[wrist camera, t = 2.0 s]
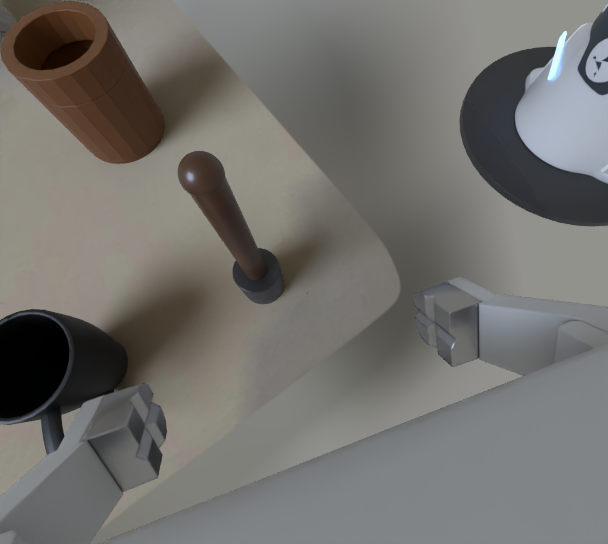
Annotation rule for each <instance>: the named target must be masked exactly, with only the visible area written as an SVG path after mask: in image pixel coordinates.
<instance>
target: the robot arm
mask: <svg viewBox="0 0 608 544" xmlns="http://www.w3.org/2000/svg"><path fill="white" fill-rule="evenodd" d="M566 34H567V32H564V33H563V34H562V35H561V37H560V38H559V42H558V45H557V49H556V52H555V55H554V57H553V58H552V59H551V60H550V61H549V62H548V64H547V65H546V66H545V67H543V68H537V69H534V70H533V71H532V72H531V73H530V74H529V75H528V76H527V78H526V83H525V93H524V95H523V97H522V98H521V100H520V101H519V103H518V105H517V108H516V112H515V124H516V128H517V131H518V133H519V135H520V137H521V139H522V141H523V142H524V144H525V145H526V146H527V147H528V148H529V149H530V150H531V151H532V152H533V153H534V154H535V155H536V156H537V157H539V158H540V159H542V160H543V161H545V162H546V163H548V164H550V165H552V166H554V167H557V168H559V169H562V170H566V171H570V172H575V173H581V174H586V175H590V176H592V177H594V178H596V179H598V180H600V181H602V182H605V183H607V184H608V3H607V4H606V6H605V7H604V9H603V11H602V12H601V14H600V15H599V16H598V17H597V18H596V20H595V21H593V22H590V23H588V24H583V25H582V26H580V27H579V28H578V29H577V30H576V31H575V32H574V33H573V35H572V36H571V37H570V38H569V39H568V40H567V41H566V43H565V44H564V40H565V37H566ZM413 299H414V306H415V307H416V308H418V309H419V311H418V313H417V315H416V317H415V320H416V326H417V329H418V332H419V334H420V336H421V337H422V339H423V340H424V341H425V342H426V343H427V344H428V345H429V346H432V347H436V348H437V349H438V355H440V356H441V357H442V358H443V359H444V360H445V361H446V362H447V363H448V364H449V365H451V366H452V367H455V366H457V365H461V364H463V363H466V362H470V361H472V360H475V359H478V358H479V359H480V360H482V361H485V362H488V363H490V364H493V365H496V366H498V367H501V368H504V369H506V370H509V371H512V372H515V373H517V374H520V375H523V377H520V378H517V379H515V380H512V381H510V382H507V383H505V384H502V385H500V386H497V387H495V388H492V389H490V390H487V391H484V392H482V393H479V394H477V395H474V396H472V397H469V398H467V399H464V400H462V401H459V402H456V403H454V404H451V405H449V406H446V407H443V408H441V409H438V410H436V411H433V412H431V413H428V414H426V415H423V416H421V417H418V418H415V419H413V420H410V421H408V422H405V423H403V424H400V425H398V426H395V427H392V428H390V429H387V430H385V431H382V432H380V433H377V434H375V435H372V436H370V437H367V438H365V439H362V440H359V441H358V442H354V443H352V444H349V445H347V446H344V447H342V448H339V449H337V450H334V451H332V452H329V453H326V454H324V455H322V456H319V457H317V458H314V459H311V460H309V461H306V462H304V463H301V464H299V465H296V466H294V467H291V468H289V469H286V470H283V471H281V472H278V473H276V474H273V475H271V476H268V477H266V478H263V479H261V480H258V481H255V482H253V483H250V484H248V485H245V486H243V487H240V488H238V489H235V490H233V491H230V492H228V493H225V494H223V495H220V496H217V497H215V498H212V499H210V500H207V501H205V502H202V503H199V504H197V505H195V506H192V507H190V508H187V509H184V510H182V511H179V512H177V513H174V514H172V515H169V516H166V517H164V518H161V519H159V520H156V521H154V522H151V523H149V524H146V525H144V526H141V527H138V528H136V529H133V530H131V531H128V532H126V533H123V534H120V535H118V536H116V537H113V538H110V539H108V540H105V541H103V542H100V543H98V544H608V307H605V306H596V305H588V304H580V303H571V302H563V301H554V300H545V299H537V298H529V297H520V296H511V295H501V296H498V295H496V294H494V293H492V292H490V291H488V290H486V289H484V288H482V287H480V286H478V285H476V284H474V283H472V282H470V281H468V280H466V279H464V278H461V277H457V278H454V279H452V280H449V281H446V282H444V283H441V284H439V285H436V286H433V287H430V288H428V289H425V290H422V291H419V292H416V293H414V298H413ZM152 398H153V392H152V390H151V389H150V387H149V385H147V384H145V383H142V384H138V385H135V386H132V387H129V388H126V389H122V390H119V391H116V392H113V393H110V394H107V395H103V396H100V397H97V398H94V399H91V400H88V401H87V402H85V403H83V405H82V406H81V408H80V410H79V412H78V414H77V415H76V417H75V419H74V421H73V423H72V424H71V426H70V428H69V430H68V431H67V433H66V435H65V437H64V439H63V440H62V442H61V444H60V446H59V448H58V449H57V451H54V452H52V453H49V454H48V455H47V456H46V457H45V458H44V459H43V460H41V461H40V462H39V463H38V464H37V465H36V466H35V467H34V468H32V469H31V470H30V471H29V472H28V473H27V474H26V475H24V476H23V477H22V478H21V479H20V480H19V481H18V482H16V483H15V484H14V485H13V486H12V487H11V488H10V489H9V490H7V491H6V492H5V493H4V494H3V495H2V496H1V497H0V544H90V543H91V541H92V540H93V538H94V536H95V535H96V534H97V532H98V531H99V529H100V528H101V526H102V525H103V523H104V522H105V520H106V519H107V517H108V516H109V514H110V513H111V511H112V510H113V508H114V507H115V506H116V504H117V503H118V501H119V500H120V498H121V497H122V495H123V492H124V491H127V490H129V489H132V488H134V487H137V486H139V485H142V484H144V483H147V482H149V481H151V480H154V479H156V478H158V475H159V470H160V465H161V459H162V453H161V451H160V450H159V448H160V447H161V445H162V444H163V443H164V441H165V439H166V433H167V429H166V420H165V416H164V413H163V411H162V409H161V407H160V406H159V405H157V404H155V403H152V402H151V401H152Z"/></svg>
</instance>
